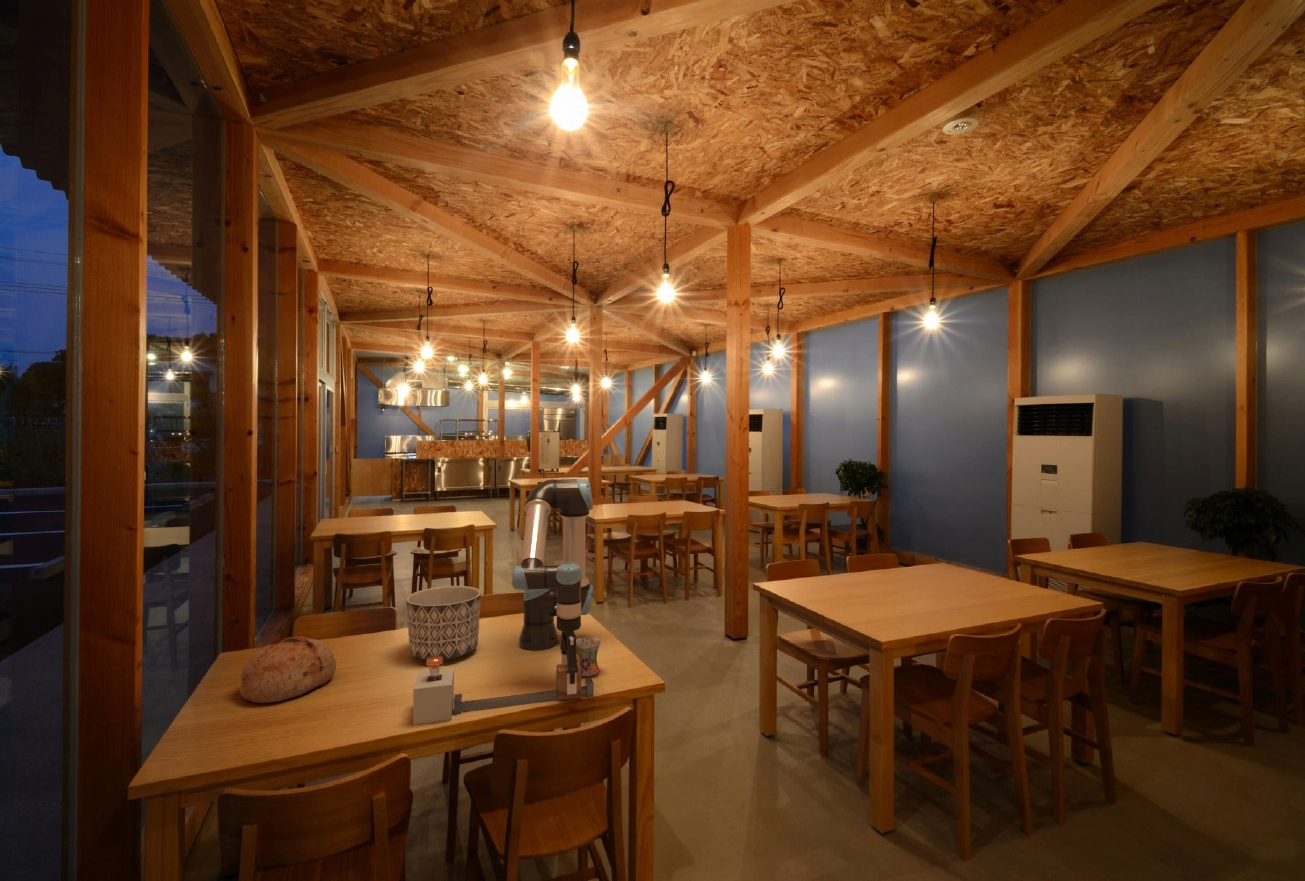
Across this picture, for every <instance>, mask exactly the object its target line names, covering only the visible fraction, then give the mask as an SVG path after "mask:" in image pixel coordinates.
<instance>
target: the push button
mask: <svg viewBox="0 0 1305 881" xmlns="http://www.w3.org/2000/svg"><path fill="white" fill-rule="evenodd" d="M425 661H426V666H428V667H429V671H430V681H438V680H439V670H440V666H441V665H442V664H443V662H444V661H443V657H442V656H432V657H429V658H427V660H425Z"/></svg>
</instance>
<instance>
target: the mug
mask: <svg viewBox="0 0 1305 881" xmlns="http://www.w3.org/2000/svg"><path fill="white" fill-rule="evenodd" d="M600 646H601V640H600V639H599V638H596V637H591V636H590V637H581V638H576V653H577V662H578V663H579V665H580V668H581V677H584V678H587V677H588V678H589V677H593V676H596V675H598V673H599V672H600V668H599V665H598V658H597V657H598V652H599V651H598V650H599V648H600Z"/></svg>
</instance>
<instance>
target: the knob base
mask: <svg viewBox="0 0 1305 881" xmlns="http://www.w3.org/2000/svg"><path fill="white" fill-rule="evenodd" d="M412 696H413V697H412V698H413V699H412V700H413V701H412V702H413V705H412V706H413V711H412V712H413V715H412V716H413V718H412V719H413V722H412V724H413V726H415V725H422V724H423V725H424V724H429V723H436V722H437V723H438V722H445V720H447V721H451V720H452V718H453V713H454V696H455V668H454V667H451V668H441V669H440V668H439V680H438V681H430V670H422V671H418V672H417V675H416V679H415V682H414V686H413V695H412Z"/></svg>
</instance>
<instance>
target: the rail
mask: <svg viewBox="0 0 1305 881" xmlns="http://www.w3.org/2000/svg"><path fill="white" fill-rule="evenodd" d="M594 686H595V685H594V681H593V677H588V678H587V677H586V678H585V679H584V686H581V696H582V697H586V698H590V697H591V698H592V697H594V695H595V694H594V693H595V692H594V691H595V689H594V688H595V687H594ZM549 701H551V702H552V701H558V691H557V690H556V689H552V690H551V689H550V690H544V691H543V690H542V691H537V692H528V693H527V692H526V693H521V694H513V695H505V696H497V697H487V698H480V699H474V700H465V701H463V693H458V694H457V693H455V694H454V704H453V715H459V714H460V715H461V714H462V713H465V712H466V713H467V712H472V711H473V712H474V711H475V712H476V711H481V710H489V709H495V708H496V709H497V708H505V707H512V706H519V705H528V704H535V703H543V702H549Z"/></svg>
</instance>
